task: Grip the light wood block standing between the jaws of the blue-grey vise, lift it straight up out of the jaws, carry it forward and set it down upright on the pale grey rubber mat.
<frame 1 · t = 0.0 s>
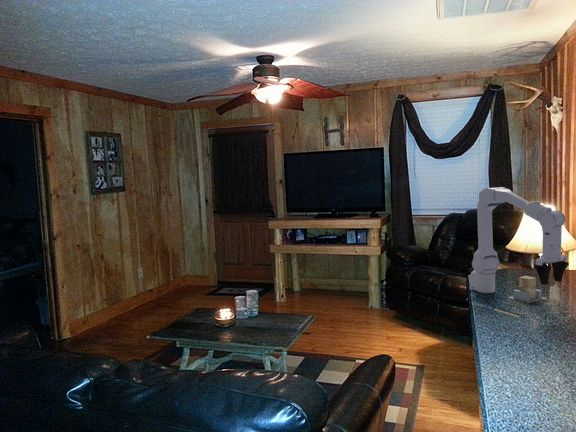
hand: (551, 282, 162), 10 cm above the countertop, tool pointing down, fingers open, 7 cm apart
peg: (527, 297, 175), point 1 cm above the countertop, touching vise
vise: (527, 300, 175), on the countertop
mat: (519, 310, 163), on the countertop
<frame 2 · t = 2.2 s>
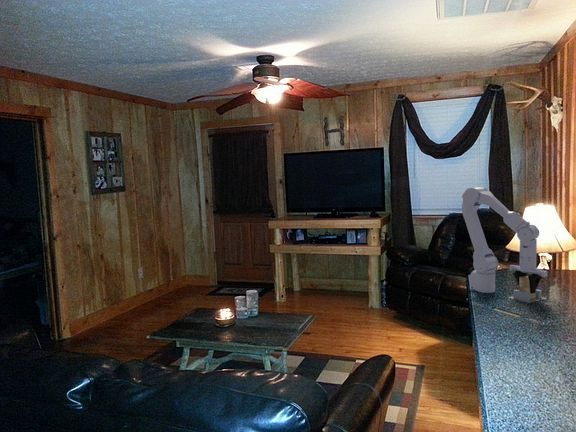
hand: (527, 291, 175), 3 cm above the countertop, tool pointing down, fingers closed on peg, 4 cm apart
peg: (527, 297, 175), point 1 cm above the countertop, touching gripper, vise
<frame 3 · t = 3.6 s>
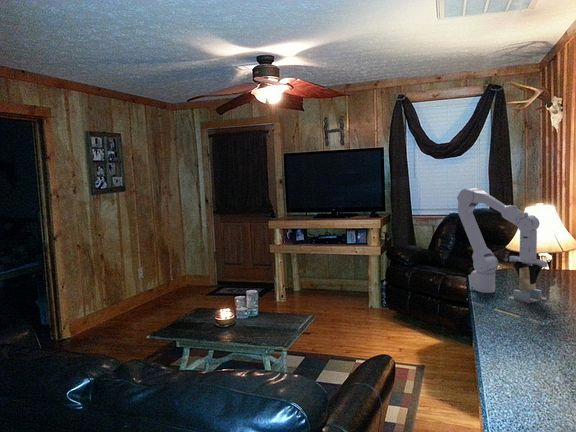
hand: (527, 282, 175), 7 cm above the countertop, tool pointing down, fingers closed on peg, 4 cm apart
peg: (527, 288, 175), point 5 cm above the countertop, touching gripper
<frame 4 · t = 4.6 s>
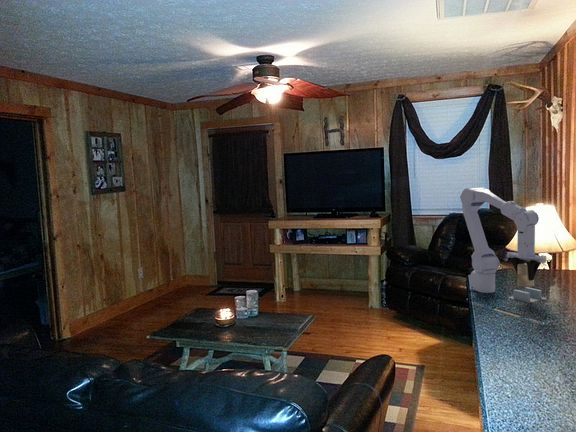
hand: (525, 278, 171), 9 cm above the countertop, tool pointing down, fingers closed on peg, 4 cm apart
peg: (525, 285, 171), point 7 cm above the countertop, touching gripper
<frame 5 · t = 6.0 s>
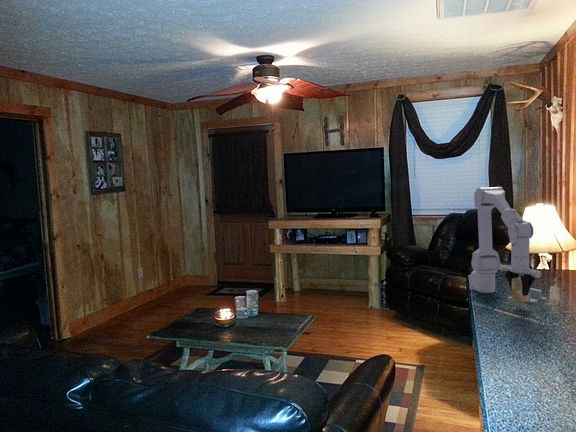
hand: (519, 293, 162), 6 cm above the countertop, tool pointing down, fingers closed on peg, 4 cm apart
peg: (520, 300, 163), point 4 cm above the countertop, touching gripper
when the fingers open (4 cm above the countertop, at t = 7.1 s): peg drops 1 cm, resting on mat.
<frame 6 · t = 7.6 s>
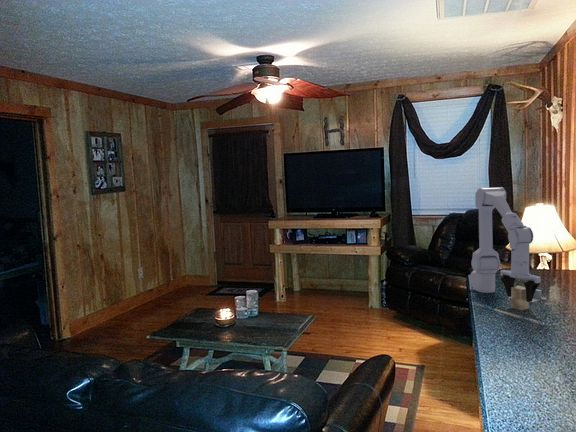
hand: (519, 298, 163), 4 cm above the countertop, tool pointing down, fingers open, 7 cm apart
peg: (519, 309, 163), resting on mat
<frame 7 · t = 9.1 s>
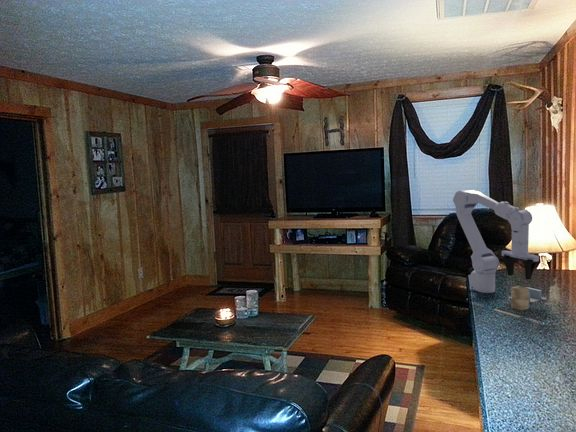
hand: (519, 277, 174), 9 cm above the countertop, tool pointing down, fingers open, 7 cm apart
nothing on the countertop moved.
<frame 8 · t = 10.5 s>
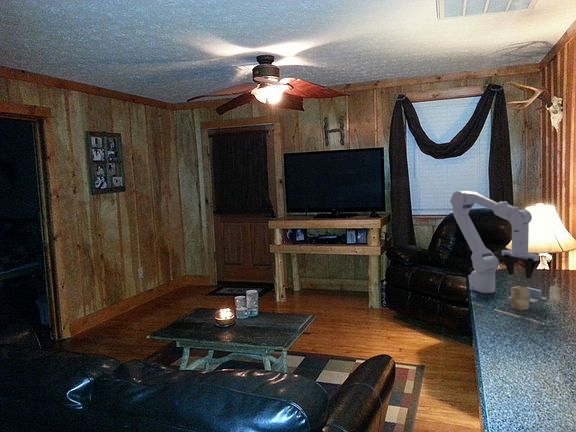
hand: (519, 276, 175), 9 cm above the countertop, tool pointing down, fingers open, 7 cm apart
nothing on the countertop moved.
at the end: peg inside the target area (0.3 cm from its centre), resting on mat; peg tilted 0°; the gripper is holding nothing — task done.
